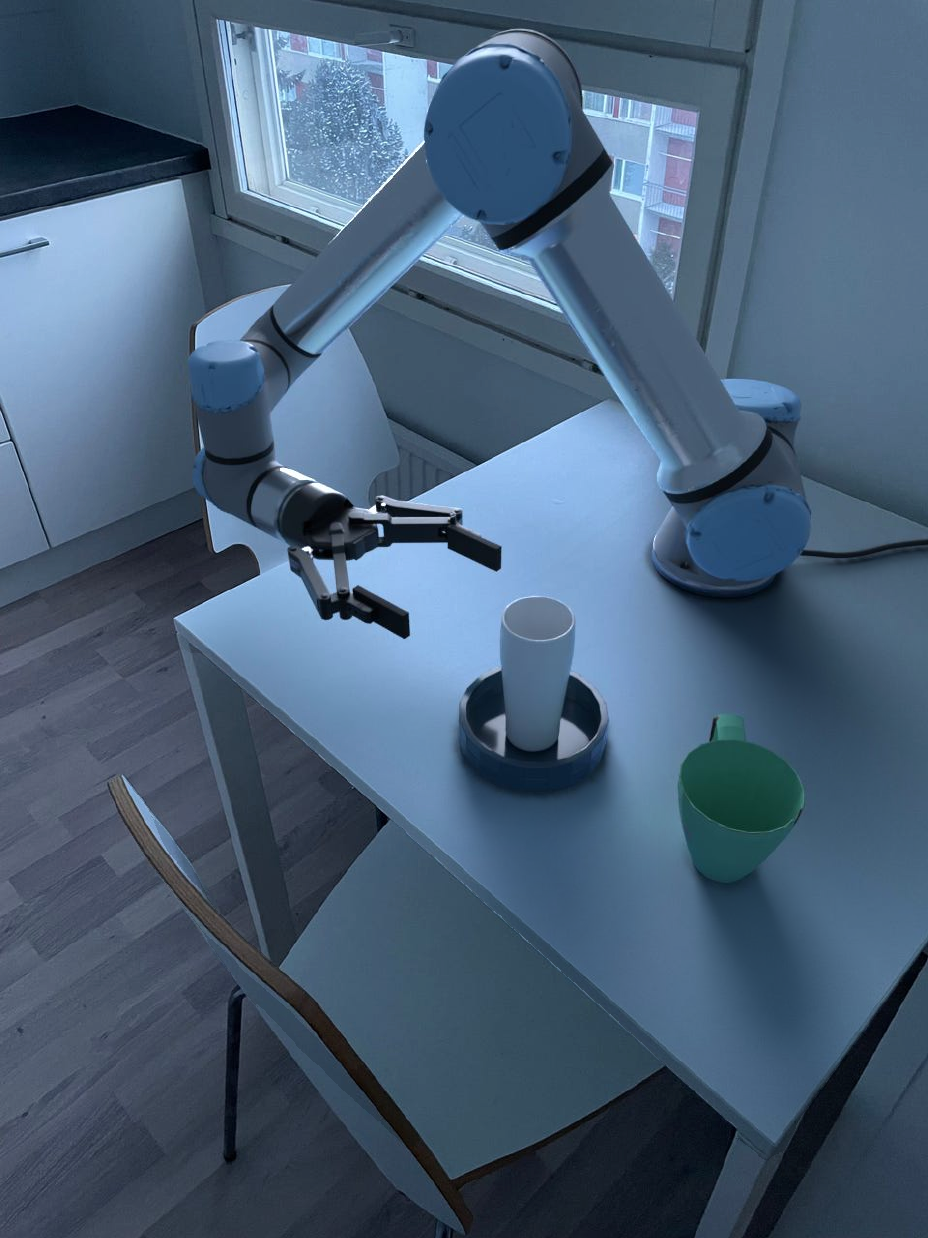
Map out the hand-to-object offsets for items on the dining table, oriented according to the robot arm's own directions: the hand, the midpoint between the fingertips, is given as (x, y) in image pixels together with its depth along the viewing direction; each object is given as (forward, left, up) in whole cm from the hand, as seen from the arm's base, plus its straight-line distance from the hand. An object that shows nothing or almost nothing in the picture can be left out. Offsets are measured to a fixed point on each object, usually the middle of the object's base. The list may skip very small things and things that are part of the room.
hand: (455, 591), depth 85 cm
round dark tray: (-8, +6, -14) cm, 17 cm away
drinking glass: (-8, +6, -13) cm, 17 cm away
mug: (-24, +18, -14) cm, 33 cm away
